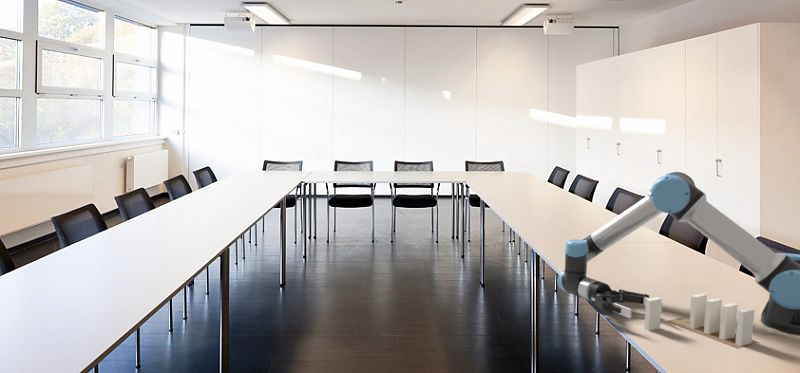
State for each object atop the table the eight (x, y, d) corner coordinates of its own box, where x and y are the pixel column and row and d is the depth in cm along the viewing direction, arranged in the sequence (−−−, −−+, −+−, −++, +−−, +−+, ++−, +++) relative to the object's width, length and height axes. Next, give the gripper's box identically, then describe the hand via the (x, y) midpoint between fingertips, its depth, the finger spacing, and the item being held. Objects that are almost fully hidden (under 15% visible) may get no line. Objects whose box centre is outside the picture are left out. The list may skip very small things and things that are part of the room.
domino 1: (644, 330, 180) (646, 299, 179) (655, 328, 182) (657, 297, 181) (648, 332, 179) (650, 300, 177) (659, 329, 181) (661, 298, 179)
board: (686, 318, 191) (686, 316, 191) (759, 344, 170) (759, 342, 170) (665, 323, 187) (665, 321, 187) (737, 350, 165) (737, 348, 165)
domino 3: (703, 332, 177) (706, 300, 176) (714, 329, 180) (716, 298, 178) (708, 334, 176) (711, 302, 175) (719, 331, 178) (721, 299, 177)
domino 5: (735, 344, 168) (738, 310, 167) (746, 341, 171) (749, 308, 169) (740, 346, 167) (743, 312, 166) (751, 342, 169) (754, 309, 168)
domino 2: (689, 326, 182) (691, 295, 180) (699, 324, 184) (702, 293, 183) (693, 328, 180) (695, 297, 179) (704, 325, 183) (706, 294, 181)
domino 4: (719, 338, 173) (721, 305, 172) (729, 335, 175) (732, 302, 174) (724, 339, 171) (726, 307, 170) (735, 337, 174) (737, 304, 172)
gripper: (621, 297, 206) (672, 315, 187) (566, 307, 195) (616, 328, 176) (622, 276, 205) (674, 293, 186) (567, 285, 194) (617, 304, 175)
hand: (646, 310), depth 181 cm, fingers open, 13 cm apart
